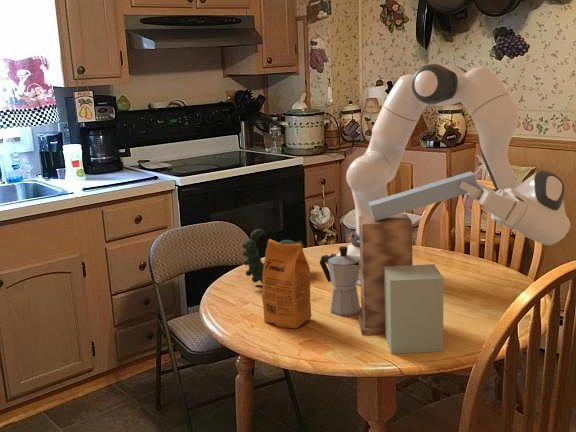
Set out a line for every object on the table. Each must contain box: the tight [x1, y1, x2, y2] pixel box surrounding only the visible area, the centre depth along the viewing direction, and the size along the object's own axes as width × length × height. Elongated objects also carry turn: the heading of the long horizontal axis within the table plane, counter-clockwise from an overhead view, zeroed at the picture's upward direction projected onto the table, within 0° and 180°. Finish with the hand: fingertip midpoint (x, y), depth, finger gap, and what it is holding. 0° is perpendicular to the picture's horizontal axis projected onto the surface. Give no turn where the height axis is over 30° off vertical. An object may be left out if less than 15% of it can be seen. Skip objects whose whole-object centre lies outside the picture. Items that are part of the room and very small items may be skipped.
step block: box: [384, 263, 444, 355], centre depth 155 cm, size 12×10×18 cm
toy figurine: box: [241, 228, 304, 284], centre depth 205 cm, size 10×19×26 cm
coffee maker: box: [319, 245, 362, 317], centre depth 178 cm, size 15×9×18 cm, turn 44°
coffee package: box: [261, 238, 312, 329], centre depth 172 cm, size 10×12×22 cm
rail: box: [368, 170, 478, 221], centre depth 160 cm, size 26×4×4 cm, turn 89°
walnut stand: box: [356, 213, 413, 335], centre depth 165 cm, size 14×11×28 cm
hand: (457, 181), depth 159 cm, fingers closed on rail, 4 cm apart
